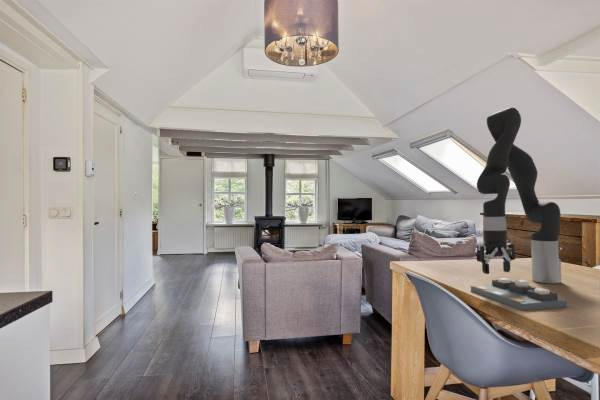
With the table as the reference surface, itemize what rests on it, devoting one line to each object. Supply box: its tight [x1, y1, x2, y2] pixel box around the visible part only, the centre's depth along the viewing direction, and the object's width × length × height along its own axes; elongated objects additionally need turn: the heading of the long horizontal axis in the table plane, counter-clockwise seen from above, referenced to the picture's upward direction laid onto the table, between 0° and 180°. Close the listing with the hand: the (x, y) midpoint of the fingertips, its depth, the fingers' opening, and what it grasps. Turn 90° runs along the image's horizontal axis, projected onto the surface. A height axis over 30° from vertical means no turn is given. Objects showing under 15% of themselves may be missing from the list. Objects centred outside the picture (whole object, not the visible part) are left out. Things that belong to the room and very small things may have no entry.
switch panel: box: [470, 279, 568, 311], centre depth 118 cm, size 16×24×4 cm, turn 10°
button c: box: [535, 287, 551, 294], centre depth 111 cm, size 4×4×2 cm
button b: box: [514, 279, 530, 288], centre depth 119 cm, size 4×4×2 cm
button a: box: [497, 277, 512, 283], centre depth 127 cm, size 4×4×2 cm
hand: (496, 272), depth 126 cm, fingers open, 8 cm apart
